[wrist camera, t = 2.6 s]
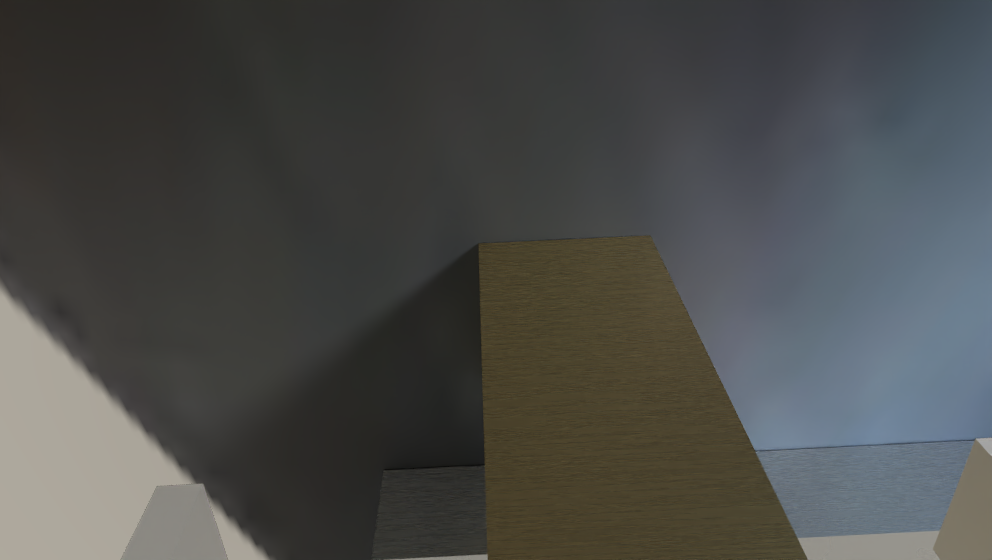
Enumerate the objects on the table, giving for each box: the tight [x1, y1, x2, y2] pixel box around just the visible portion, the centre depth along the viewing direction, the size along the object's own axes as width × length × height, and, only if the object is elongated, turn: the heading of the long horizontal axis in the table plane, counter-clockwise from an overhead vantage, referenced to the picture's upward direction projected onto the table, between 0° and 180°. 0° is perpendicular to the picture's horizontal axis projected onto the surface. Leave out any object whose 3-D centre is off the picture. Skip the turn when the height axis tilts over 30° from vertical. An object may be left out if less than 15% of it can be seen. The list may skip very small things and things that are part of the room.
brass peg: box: [478, 236, 808, 560], centre depth 12 cm, size 4×4×12 cm
